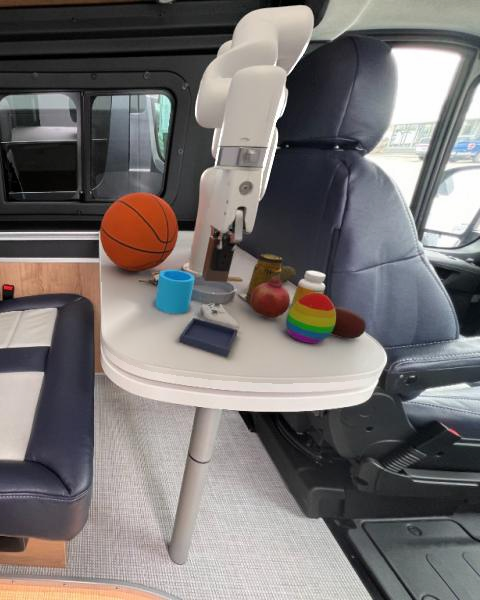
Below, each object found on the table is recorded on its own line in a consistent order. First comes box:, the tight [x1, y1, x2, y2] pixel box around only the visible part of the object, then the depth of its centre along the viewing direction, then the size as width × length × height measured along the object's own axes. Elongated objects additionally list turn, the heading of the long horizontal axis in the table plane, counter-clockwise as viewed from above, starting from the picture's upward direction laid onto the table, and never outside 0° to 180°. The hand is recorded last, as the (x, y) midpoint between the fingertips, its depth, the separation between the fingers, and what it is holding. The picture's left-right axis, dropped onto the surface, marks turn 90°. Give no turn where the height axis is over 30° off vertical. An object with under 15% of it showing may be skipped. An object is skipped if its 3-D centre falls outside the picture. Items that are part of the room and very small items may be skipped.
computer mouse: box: [138, 270, 162, 287], centre depth 92 cm, size 7×15×4 cm, turn 88°
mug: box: [154, 269, 195, 315], centre depth 80 cm, size 12×8×8 cm
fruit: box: [249, 277, 291, 319], centre depth 74 cm, size 8×8×10 cm
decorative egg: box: [285, 293, 336, 344], centre depth 66 cm, size 8×8×10 cm
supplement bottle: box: [290, 270, 326, 308], centre depth 78 cm, size 5×5×10 cm
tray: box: [178, 317, 239, 358], centre depth 66 cm, size 9×9×2 cm
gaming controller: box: [198, 303, 240, 331], centre depth 72 cm, size 10×4×7 cm
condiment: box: [238, 253, 284, 304], centre depth 82 cm, size 7×8×12 cm
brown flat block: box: [202, 236, 244, 283], centre depth 59 cm, size 2×7×8 cm, turn 86°
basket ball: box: [99, 191, 179, 272], centre depth 100 cm, size 24×24×24 cm
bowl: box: [191, 276, 237, 305], centre depth 87 cm, size 13×13×3 cm
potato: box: [330, 305, 367, 340], centre depth 68 cm, size 8×9×6 cm
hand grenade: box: [279, 265, 296, 284], centre depth 97 cm, size 5×6×10 cm
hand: (216, 266), depth 60 cm, fingers closed on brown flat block, 2 cm apart
